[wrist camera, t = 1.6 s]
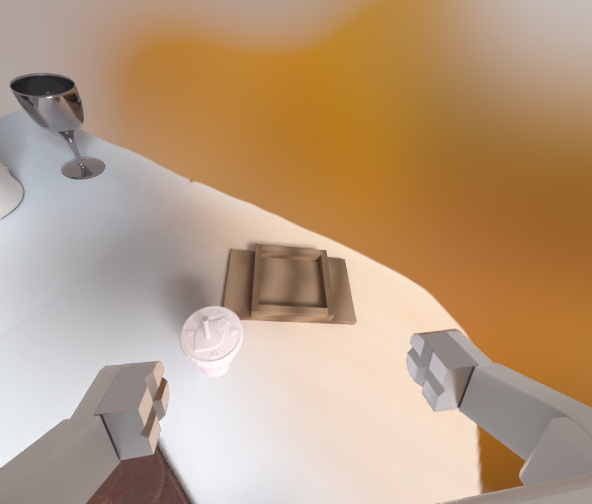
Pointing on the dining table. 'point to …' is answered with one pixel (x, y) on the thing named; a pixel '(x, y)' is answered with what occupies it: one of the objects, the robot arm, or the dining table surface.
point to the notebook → (141, 483)
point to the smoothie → (211, 339)
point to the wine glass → (57, 115)
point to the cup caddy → (289, 286)
